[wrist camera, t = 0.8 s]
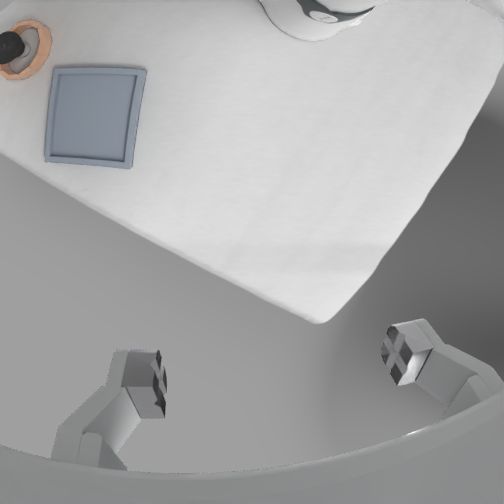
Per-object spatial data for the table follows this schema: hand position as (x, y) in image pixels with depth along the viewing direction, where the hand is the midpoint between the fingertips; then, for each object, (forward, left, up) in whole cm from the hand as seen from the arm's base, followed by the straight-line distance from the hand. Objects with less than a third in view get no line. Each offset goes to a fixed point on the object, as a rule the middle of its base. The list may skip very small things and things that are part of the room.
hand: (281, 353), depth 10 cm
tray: (-3, -22, -43) cm, 48 cm away
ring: (-15, -38, -43) cm, 59 cm away
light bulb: (-15, -38, -43) cm, 60 cm away
